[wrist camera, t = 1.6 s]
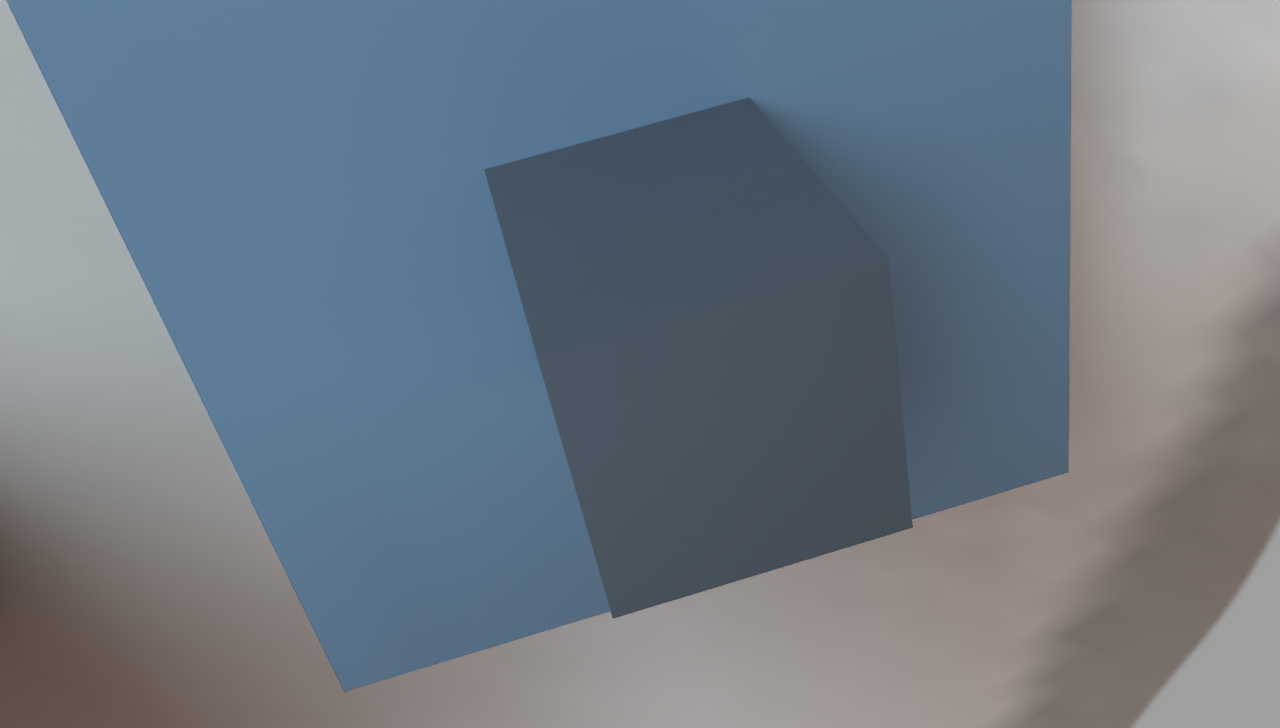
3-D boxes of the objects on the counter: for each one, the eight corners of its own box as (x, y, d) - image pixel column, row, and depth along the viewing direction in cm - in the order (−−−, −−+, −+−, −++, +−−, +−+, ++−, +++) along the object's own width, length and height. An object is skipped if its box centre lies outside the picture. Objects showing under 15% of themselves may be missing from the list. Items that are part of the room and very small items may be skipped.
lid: (342, 611, 18) (349, 962, 13) (-4, -137, 12) (-213, 23, 7) (1016, 410, 19) (1243, 676, 14) (996, -382, 13) (1375, -376, 8)
